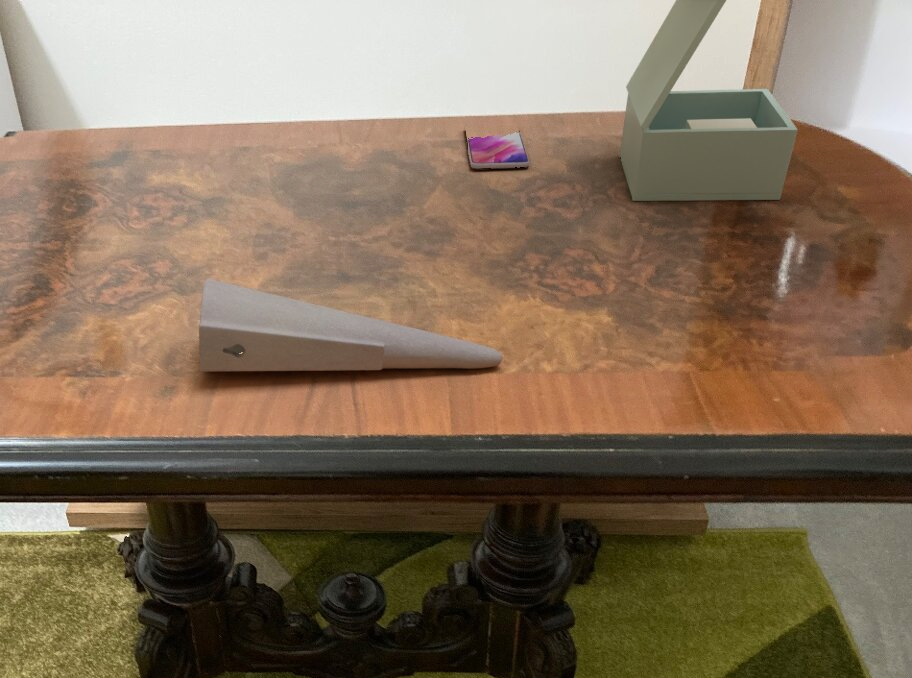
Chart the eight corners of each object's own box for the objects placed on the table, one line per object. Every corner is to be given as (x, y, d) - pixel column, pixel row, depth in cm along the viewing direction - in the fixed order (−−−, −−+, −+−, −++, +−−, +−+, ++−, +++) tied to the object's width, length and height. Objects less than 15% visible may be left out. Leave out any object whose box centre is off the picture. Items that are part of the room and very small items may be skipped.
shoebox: (752, 154, 112) (767, 88, 107) (780, 200, 101) (798, 129, 96) (619, 156, 114) (628, 92, 109) (632, 201, 104) (643, 132, 99)
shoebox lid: (716, -55, 99) (675, -74, 98) (743, -28, 88) (698, -48, 88) (631, 89, 109) (594, 73, 109) (647, 129, 99) (606, 111, 98)
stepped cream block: (745, 162, 108) (755, 117, 105) (754, 177, 104) (764, 131, 101) (647, 163, 110) (654, 119, 107) (653, 178, 106) (660, 133, 103)
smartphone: (517, 120, 124) (530, 162, 112) (517, 127, 125) (529, 169, 113) (463, 122, 125) (470, 163, 113) (463, 128, 125) (470, 170, 113)
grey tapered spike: (496, 277, 83) (208, 262, 82) (511, 325, 76) (198, 308, 75) (482, 351, 87) (210, 337, 87) (495, 402, 81) (200, 387, 80)
